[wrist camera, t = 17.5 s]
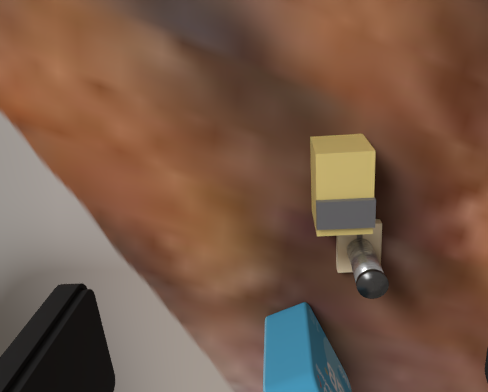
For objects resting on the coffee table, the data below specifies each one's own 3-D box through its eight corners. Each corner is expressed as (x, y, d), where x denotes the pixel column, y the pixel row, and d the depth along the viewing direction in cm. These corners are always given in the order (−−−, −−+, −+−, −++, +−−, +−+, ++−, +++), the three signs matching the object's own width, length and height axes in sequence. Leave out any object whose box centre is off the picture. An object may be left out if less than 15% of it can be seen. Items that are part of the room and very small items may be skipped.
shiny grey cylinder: (345, 238, 42) (357, 273, 36) (373, 237, 41) (388, 271, 36) (346, 262, 42) (357, 299, 37) (373, 260, 42) (388, 297, 37)
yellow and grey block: (309, 136, 39) (315, 156, 34) (362, 133, 39) (377, 152, 33) (311, 209, 42) (316, 239, 36) (361, 207, 42) (374, 236, 36)
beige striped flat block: (336, 220, 42) (337, 226, 41) (379, 218, 42) (382, 223, 41) (336, 267, 44) (337, 273, 43) (378, 265, 44) (380, 271, 43)
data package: (349, 379, 49) (372, 485, 38) (311, 392, 50) (322, 499, 39) (304, 294, 45) (314, 384, 34) (264, 310, 46) (261, 402, 35)
